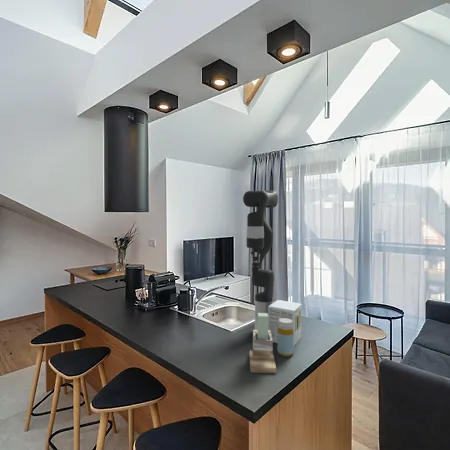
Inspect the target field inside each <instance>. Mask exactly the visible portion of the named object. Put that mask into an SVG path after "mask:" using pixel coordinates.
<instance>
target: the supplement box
mask: <svg viewBox="0 0 450 450" xmlns="http://www.w3.org/2000/svg"><path fill="white" fill-rule="evenodd" d="M302 306H303V305H302V303H299V302H294V301H287V300H281V299H277V300H276V301H273V304H271V305H270V306H268V330H270V332H271V336H272V340H273V344H274V343H275V344H278V328H279V319H280V318H289V319H291V320H293V331H294V347H295V346H296V345H297V343H298V342H299V341H300V340H301V339H302V317H303V316H302V314H303V313H302V309H303V307H302Z"/></svg>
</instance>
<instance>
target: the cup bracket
mask: <svg viewBox="0 0 450 450" xmlns="http://www.w3.org/2000/svg"><path fill="white" fill-rule="evenodd" d="M273 344H274V342H273V340H272V336H271V332H270V330H268V340H261V339H258V330H255V329H252V350H249V366H250V367H249V369H250V371H249V372H250V373H258V374H259V373H262V374H277V366H276V360H275V355H274V353H273V352H274V350H273V347H274V345H273Z"/></svg>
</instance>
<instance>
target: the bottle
mask: <svg viewBox="0 0 450 450" xmlns="http://www.w3.org/2000/svg"><path fill="white" fill-rule="evenodd" d="M294 347H295V346H294V331H293V320H291V319H289V318H280V319H279V328H278V343H277V348H276V349H277V354H278V355H279V356H281V357H285V358H289V357H292V356H293V355H294Z"/></svg>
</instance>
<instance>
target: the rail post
mask: <svg viewBox="0 0 450 450" xmlns="http://www.w3.org/2000/svg"><path fill="white" fill-rule="evenodd" d="M258 339H261V340H268V313H258Z"/></svg>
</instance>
